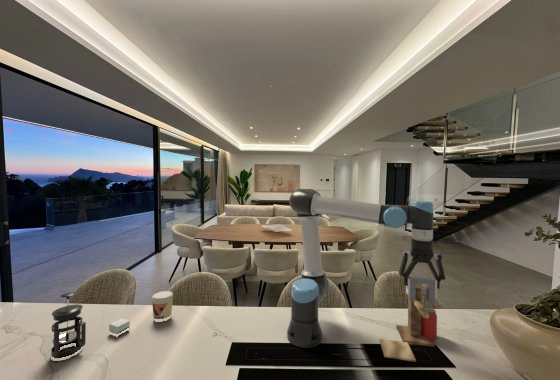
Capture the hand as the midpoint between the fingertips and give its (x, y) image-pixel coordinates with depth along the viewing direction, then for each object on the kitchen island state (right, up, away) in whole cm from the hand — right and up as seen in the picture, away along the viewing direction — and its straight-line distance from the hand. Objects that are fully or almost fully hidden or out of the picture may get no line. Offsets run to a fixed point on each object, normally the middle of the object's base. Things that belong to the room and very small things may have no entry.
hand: (421, 294), depth 98 cm
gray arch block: (0, -2, 0) cm, 2 cm away
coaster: (-10, -22, -1) cm, 24 cm away
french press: (-139, -21, -5) cm, 140 cm away
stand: (+1, -22, +5) cm, 22 cm away
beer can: (+8, -22, +9) cm, 25 cm away
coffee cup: (-115, -21, +21) cm, 119 cm away
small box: (-128, -21, +9) cm, 130 cm away
